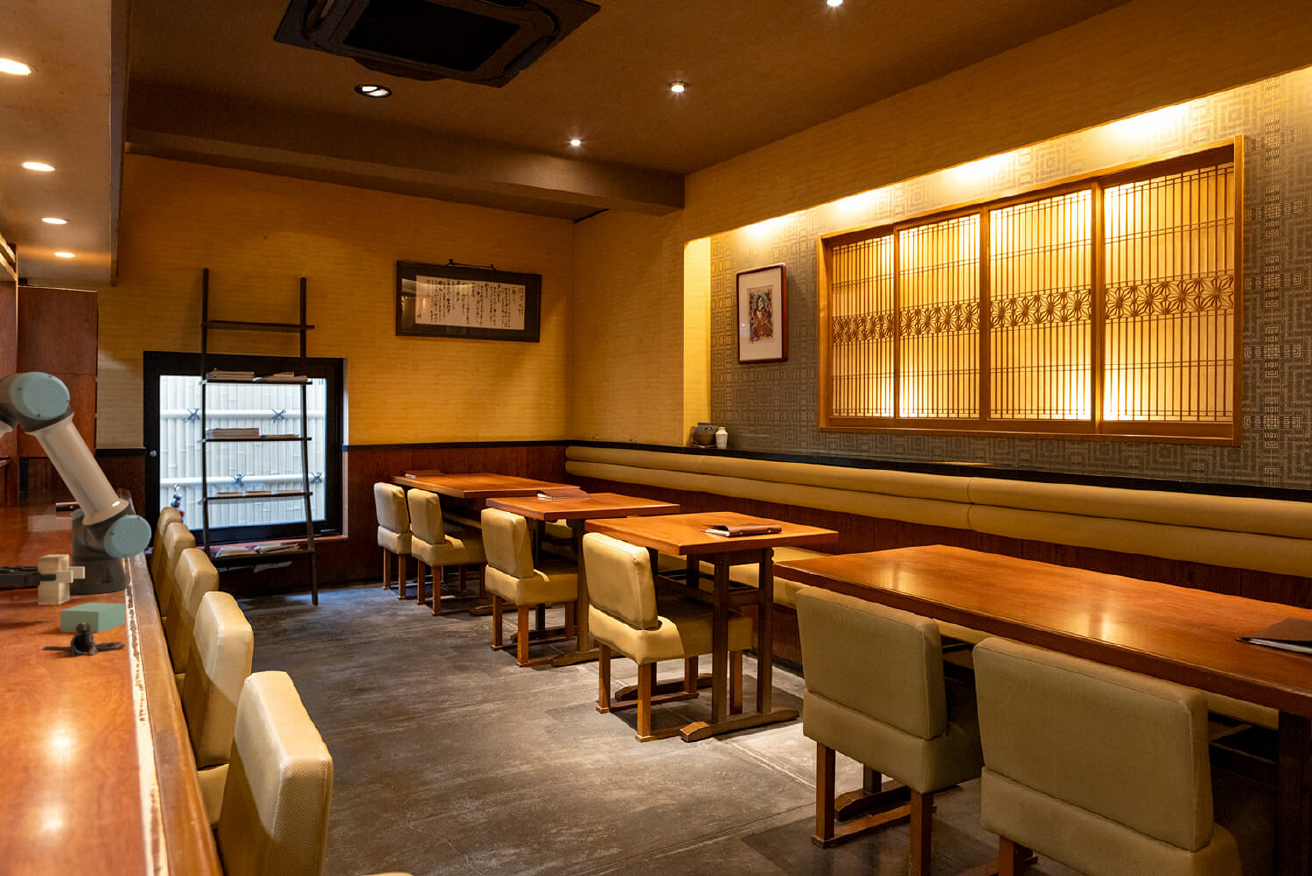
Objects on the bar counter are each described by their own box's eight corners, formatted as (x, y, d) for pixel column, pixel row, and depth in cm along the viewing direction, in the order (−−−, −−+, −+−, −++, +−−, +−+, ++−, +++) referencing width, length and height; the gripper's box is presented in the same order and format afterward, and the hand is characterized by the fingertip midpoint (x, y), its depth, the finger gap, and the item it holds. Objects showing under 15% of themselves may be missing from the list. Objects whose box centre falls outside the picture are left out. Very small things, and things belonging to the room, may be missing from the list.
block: (49, 600, 210) (48, 554, 210) (69, 600, 211) (68, 554, 210) (38, 604, 206) (37, 557, 205) (59, 604, 206) (58, 557, 206)
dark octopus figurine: (125, 648, 182) (68, 620, 177) (93, 691, 180) (34, 663, 175) (127, 635, 192) (73, 608, 187) (96, 675, 190) (41, 649, 185)
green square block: (88, 623, 208) (88, 602, 208) (125, 625, 207) (125, 603, 207) (60, 632, 199) (60, 610, 199) (98, 634, 198) (98, 611, 198)
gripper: (-5, 584, 215) (97, 583, 218) (-55, 599, 197) (57, 598, 200) (-6, 553, 215) (96, 552, 217) (-55, 566, 197) (57, 565, 200)
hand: (77, 574), depth 209 cm, fingers closed on block, 4 cm apart
